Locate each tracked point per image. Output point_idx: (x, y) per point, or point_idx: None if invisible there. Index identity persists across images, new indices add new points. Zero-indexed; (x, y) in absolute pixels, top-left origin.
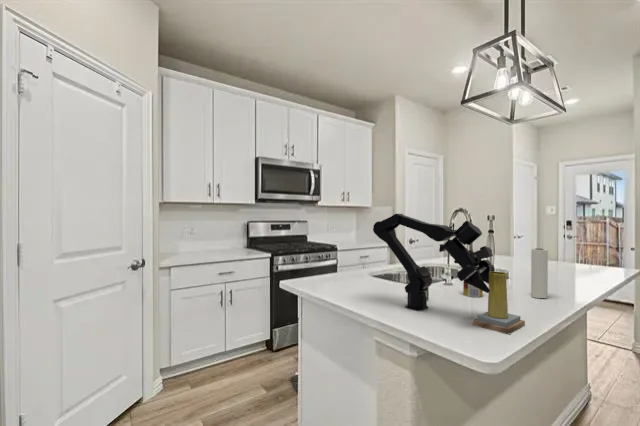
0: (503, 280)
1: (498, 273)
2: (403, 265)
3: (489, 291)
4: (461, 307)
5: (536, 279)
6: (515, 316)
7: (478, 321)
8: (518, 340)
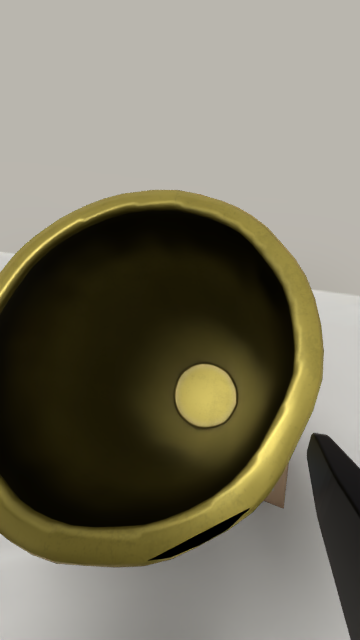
0: (226, 276)
1: (7, 343)
2: None
3: (326, 436)
4: (4, 609)
5: None
6: None
7: (283, 475)
8: (338, 313)
